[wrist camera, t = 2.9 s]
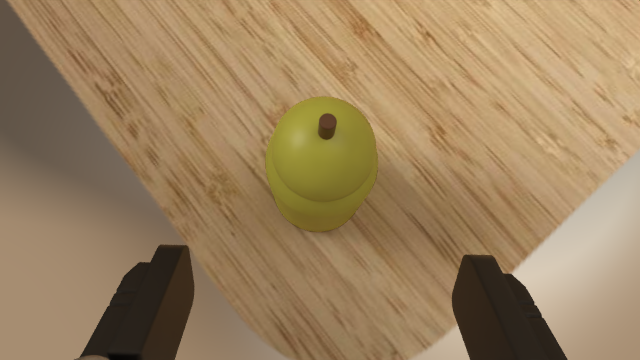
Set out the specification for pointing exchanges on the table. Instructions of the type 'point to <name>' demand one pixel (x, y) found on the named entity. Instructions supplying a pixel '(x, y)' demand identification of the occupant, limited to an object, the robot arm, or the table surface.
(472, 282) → the robot arm
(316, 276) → the table surface
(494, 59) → the table surface
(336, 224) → the pear
